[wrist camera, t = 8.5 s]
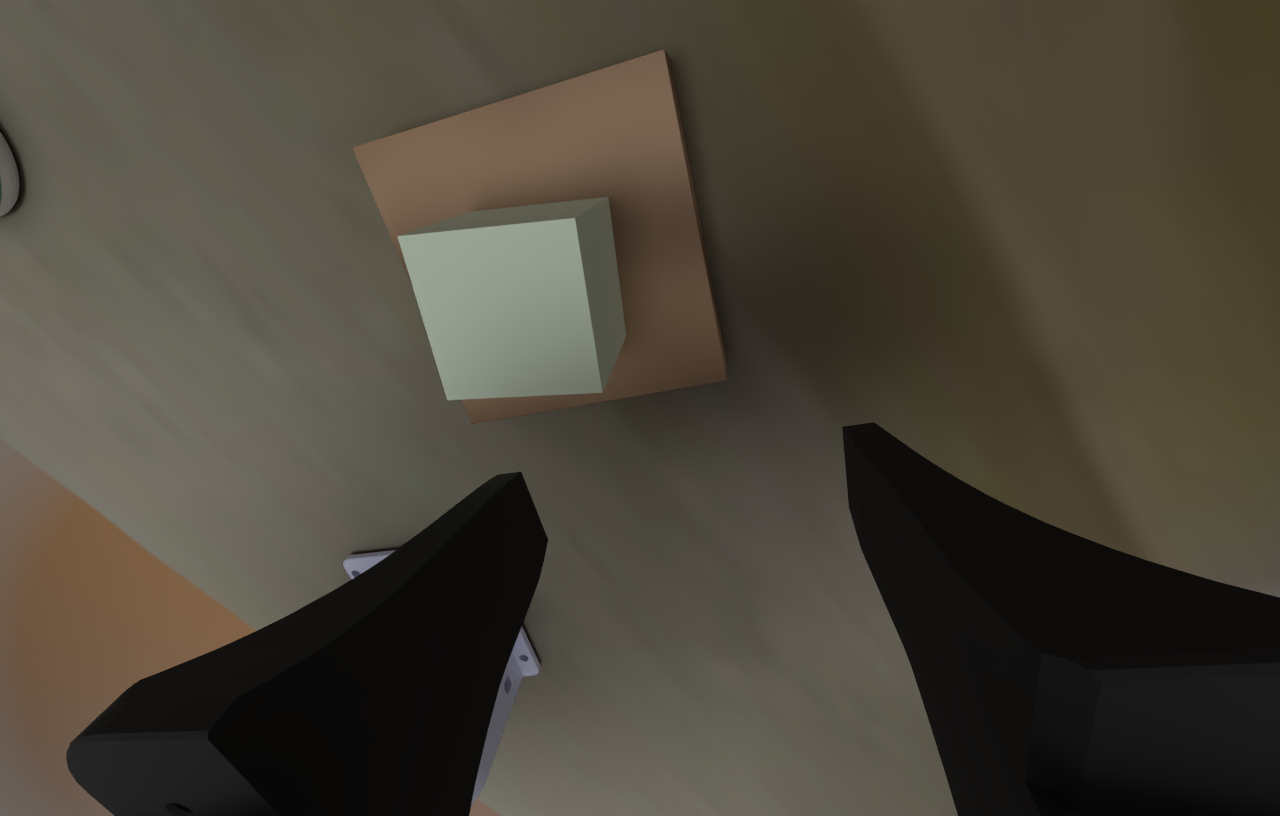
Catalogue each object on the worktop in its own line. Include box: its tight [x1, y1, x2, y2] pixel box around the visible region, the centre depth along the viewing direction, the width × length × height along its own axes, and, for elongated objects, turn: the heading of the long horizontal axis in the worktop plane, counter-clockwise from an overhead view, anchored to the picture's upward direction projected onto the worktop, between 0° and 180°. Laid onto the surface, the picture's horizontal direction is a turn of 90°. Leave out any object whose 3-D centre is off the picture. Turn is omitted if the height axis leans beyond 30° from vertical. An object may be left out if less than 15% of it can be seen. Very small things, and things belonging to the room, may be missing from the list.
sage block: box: [397, 197, 626, 400], centre depth 16 cm, size 4×4×4 cm
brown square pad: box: [352, 50, 727, 424], centre depth 19 cm, size 10×10×2 cm
